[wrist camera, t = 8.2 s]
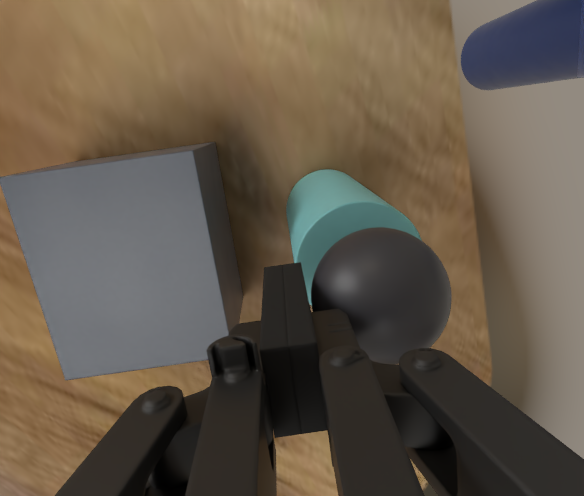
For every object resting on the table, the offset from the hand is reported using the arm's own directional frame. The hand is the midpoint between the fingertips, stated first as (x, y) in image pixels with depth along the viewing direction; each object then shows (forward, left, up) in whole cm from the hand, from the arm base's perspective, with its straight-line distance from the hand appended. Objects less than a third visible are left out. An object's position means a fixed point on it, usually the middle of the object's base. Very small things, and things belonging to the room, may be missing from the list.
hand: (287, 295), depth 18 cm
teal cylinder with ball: (0, 0, -15) cm, 15 cm away
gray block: (+9, 0, -15) cm, 18 cm away
